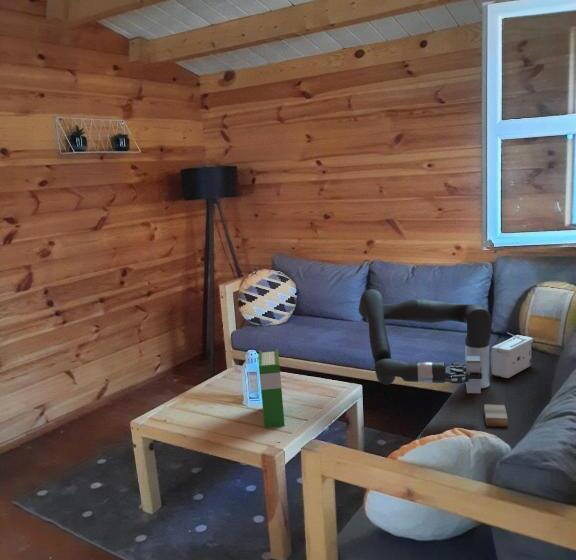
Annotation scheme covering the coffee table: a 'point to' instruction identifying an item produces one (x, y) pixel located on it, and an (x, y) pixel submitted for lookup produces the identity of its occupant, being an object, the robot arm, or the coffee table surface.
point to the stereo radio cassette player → (511, 356)
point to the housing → (473, 366)
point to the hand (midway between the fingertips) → (481, 373)
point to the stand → (495, 415)
